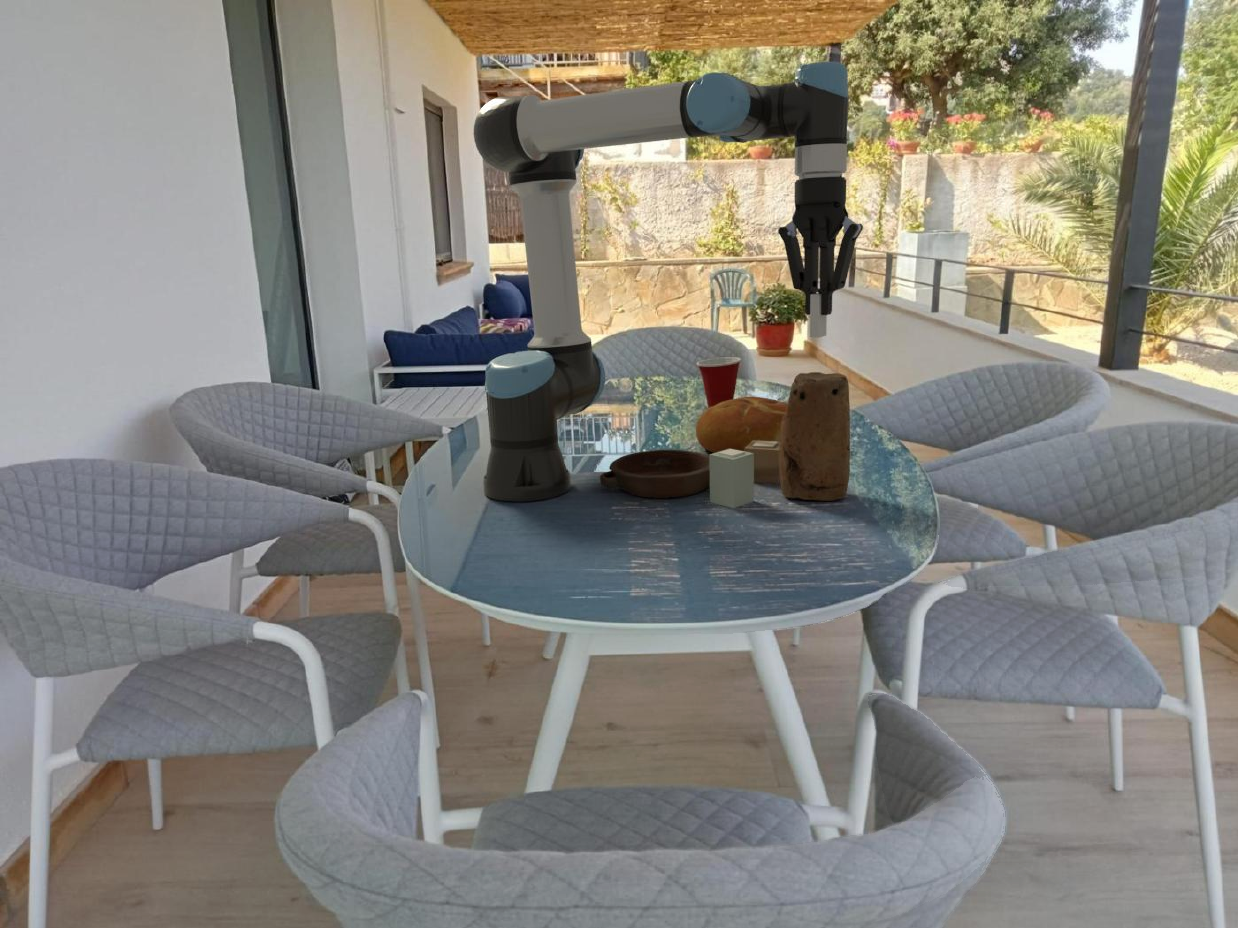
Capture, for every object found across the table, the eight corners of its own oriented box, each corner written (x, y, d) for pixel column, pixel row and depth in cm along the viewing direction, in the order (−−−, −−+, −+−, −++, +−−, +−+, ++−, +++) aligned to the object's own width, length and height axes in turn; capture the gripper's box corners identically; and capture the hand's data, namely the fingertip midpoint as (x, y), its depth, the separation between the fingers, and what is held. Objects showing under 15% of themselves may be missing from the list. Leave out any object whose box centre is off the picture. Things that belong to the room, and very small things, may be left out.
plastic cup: (696, 404, 220) (695, 356, 217) (739, 403, 220) (739, 355, 217) (697, 413, 210) (696, 363, 207) (743, 411, 209) (742, 362, 206)
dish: (602, 477, 160) (601, 450, 158) (723, 473, 159) (723, 446, 158) (597, 506, 143) (596, 477, 142) (733, 502, 142) (733, 472, 141)
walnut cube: (778, 484, 150) (778, 448, 149) (744, 481, 153) (744, 446, 151) (785, 474, 156) (786, 440, 154) (752, 472, 158) (752, 438, 156)
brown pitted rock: (844, 489, 145) (848, 370, 140) (850, 503, 138) (854, 378, 133) (778, 489, 147) (779, 371, 142) (780, 503, 140) (781, 379, 135)
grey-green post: (733, 508, 138) (733, 457, 136) (710, 502, 142) (709, 452, 140) (753, 501, 141) (753, 451, 139) (730, 495, 145) (729, 446, 143)
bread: (806, 466, 161) (807, 413, 158) (683, 460, 169) (682, 409, 166) (820, 437, 182) (821, 390, 179) (710, 433, 189) (710, 388, 187)
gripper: (872, 174, 129) (867, 335, 135) (791, 180, 136) (790, 332, 142) (852, 173, 123) (848, 340, 129) (769, 179, 131) (769, 337, 137)
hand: (818, 336), depth 136 cm, fingers closed
